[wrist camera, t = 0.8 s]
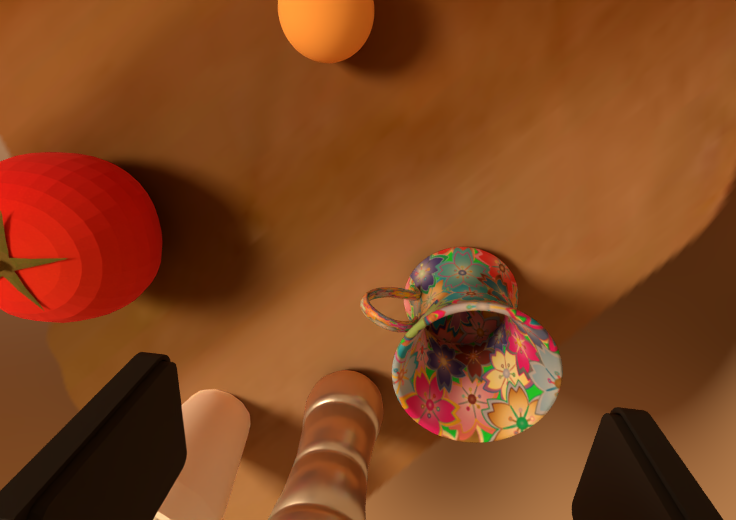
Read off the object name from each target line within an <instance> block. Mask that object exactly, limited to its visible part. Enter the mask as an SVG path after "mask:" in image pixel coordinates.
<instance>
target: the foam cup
mask: <svg viewBox="0 0 736 520" xmlns="http://www.w3.org/2000/svg"><path fill="white" fill-rule="evenodd" d="M182 414H183V423H184V431H185V439H186V447H187V458H186V462H185V465H184V467H183V469H182V471H181V473H180V474H179V476H178V478H177V480H176V481H175V483H174V485H173V486H172V488H171V490H170V491H169V493H168V495H167V497H166V498H165V500H164V502H163V503H162V505H161V507H160V508H159V510H158V512H157V514H156V515H155V517H154V519H153V520H223V517H224V514H225V510H226V507H227V504H228V500H229V497H230V494H231V490H232V487H233V484H234V480H235V477H236V474H237V470H238V467H239V464H240V460H241V457H242V454H243V450H244V447H245V444H246V440H247V437H248V434H249V428H250V426H251V424H250V414H249V412H248V410H247V409H246V407H245V406H244V404H243V403H242V402H241V401H240V400H239V399H237V398H236V397H234V396H233V395H232V394H230V393H227V392H224V391H220V390H217V389H210V390H201V391H199V392H197V393H196V394H194V395H193V396H191V397H190V398H189V399H188V400H187V401H186V402H185V403H184V404H183V405H182Z"/></svg>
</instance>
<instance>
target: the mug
mask: <svg viewBox="0 0 736 520" xmlns="http://www.w3.org/2000/svg"><path fill="white" fill-rule="evenodd" d="M381 297H393V298H400V299H404V306H405V310H406V314H407V316H408V318H409V320H410V321H398V320H394V319H391V318H389V317H387V316H385V315H383V314H381V313H380V312H378V311H377V310H376V309H375V308H374V307H373V306H372V305H371V304H370V302H369V301H370V300H372V299H375V298H381ZM517 306H518V288H517V284H516V281H515V278H514V276H513V274H512V273H511V271H510V270H509V268H508V267H507V266H506V265H505V264H504V263H503V262H502V261H501V260H500V259H498V258H497V257H495V256H494V255H492V254H490V253H488V252H486V251H483V250H480V249H476V248H471V247H454V248H448V249H444V250H441V251H438V252H436V253H434V254H432V255H430V256H429V257H427V258H426V259H424V260H423V261H422V262H421V263H420V264H419V265H418V266H417V267H416V268H415V269H414V271H413V272H412V274H411V275H410V277H409V279H408V281H407V284H406V287H405V289H402V288H394V287H382V288H376V289H373V290H370V291H368V292H367V293H366V294H365V295H364V296H363V298H362V300H361V310H362V312H363V313H364V314H365V316H366V317H367V318H368V319H369V320H371V321H372V322H373V323H375V324H376V325H378V326H380V327H382V328H384V329H387V330H390V331H394V332H407V333H406V335H405V336H404V337H403V339H402V340H401V342H400V344H399V346H398V348H397V350H396V353H395V356H394V359H393V365H392V382H393V387H394V390H395V393H396V396H397V398H398V400H399V402H400V404H401V405H402V407H403V408H404V410H405V411H406V412H407V414H408V415H409V416H410V417H411V418H412V419H413V420H414V421H416V422H417V423H418V424H419V425H421V426H422V427H423V428H425V429H427V430H428V431H430V432H432V433H434V434H436V435H439V436H441V437H444V438H448V439H451V440H455V441H461V442H472V443H473V442H474V443H478V442H479V443H481V442H492V441H497V440H501V439H505V438H509V437H512V436H514V435H516V434H519V433H521V432H523V431H525V430H526V429H528V428H530V427H531V426H533V425H534V424H535V423H537V422H538V421H539V420H540V419H541V418H542V417H543V416H544V415H545V414H546V413H547V412H548V411H549V409H550V408H551V407H552V405H553V403H554V402H555V400H556V398H557V396H558V394H559V390H560V387H561V382H562V374H563V371H562V362H561V357H560V354H559V351H558V348H557V346H556V344H555V342H554V341H553V339H552V337H551V336H550V335H549V333H548V332H547V331H546V330H545V329H544V328H543V327H542V326H541V325H540V324H539V323H538V322H537V321H535V320H534V319H533V318H531V317H530V316H528V315H526V314H525V313H523V312H521V311H519V310H517Z"/></svg>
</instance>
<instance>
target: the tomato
mask: <svg viewBox="0 0 736 520" xmlns="http://www.w3.org/2000/svg"><path fill="white" fill-rule="evenodd" d="M161 253H162V232H161V227H160V223H159V218H158V215H157V212H156V209H155V206H154V204H153V203H152V201H151V199H150V197H149V195H148V193H147V192H146V191H145V189H144V188H143V187H142V186H141V184H140V183H139V182H138V181H137V180H136V179H135V178H133V177H132V176H131V175H130V174H129V173H128V172H126V171H125V170H123V169H121V168H120V167H118V166H117V165H115V164H112V163H110V162H108V161H105V160H102V159H99V158H96V157H93V156H88V155H82V154H76V153H61V152H44V153H30V154H24V155H18V156H15V157H12V158H9V159H6V160H3V161H1V162H0V309H1V310H3V311H5V312H7V313H8V314H10V315H14V316H17V317H20V318H24V319H30V320H35V321H45V322H61V323H65V322H74V321H81V320H86V319H91V318H96V317H99V316H103V315H107V314H110V313H112V312H114V311H116V310H119V309H121V308H123V307H124V306H126V305H128V304H129V303H131V302H133V301H134V300H135V299H136V298H137V297H139V296H140V295H141V294H142V293H143V292H144V291H145V290H146V288H147V287H148V286H149V285H150V284H151V283H152V281H153V279H154V278H155V276H156V274H157V272H158V269H159V266H160V263H161Z"/></svg>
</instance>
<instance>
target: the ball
mask: <svg viewBox="0 0 736 520" xmlns="http://www.w3.org/2000/svg"><path fill="white" fill-rule="evenodd" d="M278 14H279V19H280V23H281V26H282V29H283V31H284V33H285V35H286V37H287V39H288V40H289V42H290V43H291V44H292V46H293V47H294V48H295V49H296V50H297V51H298V52H300V53H301V54H302V55H304V56H305V57H307V58H309V59H311V60H314V61H317V62H321V63H335V62H340V61H343V60H345V59H347V58H349V57H351V56H352V55H354V54H355V53H356V52H357V51H359V50H360V48H361V47H362V46H363V45H364V43H365V42H366V40H367V39H368V37H369V34H370V32H371V29H372V26H373V21H374V1H373V0H278Z"/></svg>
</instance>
